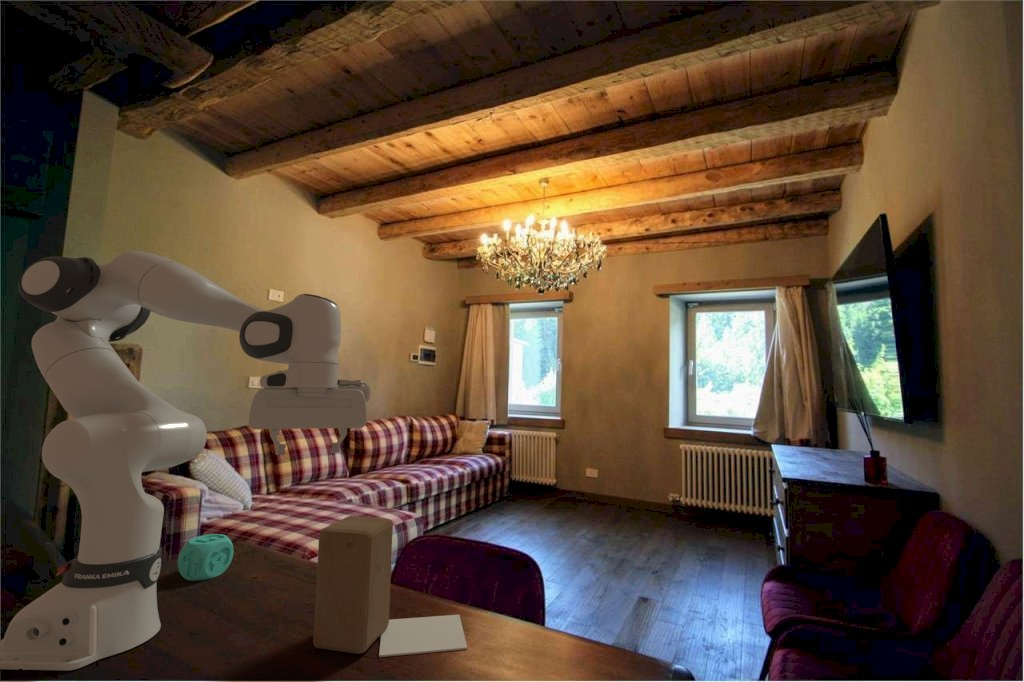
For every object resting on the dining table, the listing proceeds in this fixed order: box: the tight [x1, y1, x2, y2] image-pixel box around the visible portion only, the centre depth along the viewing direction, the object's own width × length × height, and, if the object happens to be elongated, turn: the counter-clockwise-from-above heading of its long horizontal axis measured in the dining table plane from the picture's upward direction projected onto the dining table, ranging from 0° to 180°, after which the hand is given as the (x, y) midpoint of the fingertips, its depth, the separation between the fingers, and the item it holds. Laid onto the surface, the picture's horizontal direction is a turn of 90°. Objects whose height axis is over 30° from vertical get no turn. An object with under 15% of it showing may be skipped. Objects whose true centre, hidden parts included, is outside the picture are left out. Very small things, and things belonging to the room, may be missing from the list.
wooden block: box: [312, 515, 394, 655], centre depth 82 cm, size 10×10×20 cm
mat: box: [378, 614, 468, 658], centre depth 83 cm, size 15×12×1 cm
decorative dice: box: [177, 533, 235, 582], centre depth 107 cm, size 8×8×8 cm
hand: (308, 453), depth 84 cm, fingers open, 8 cm apart
